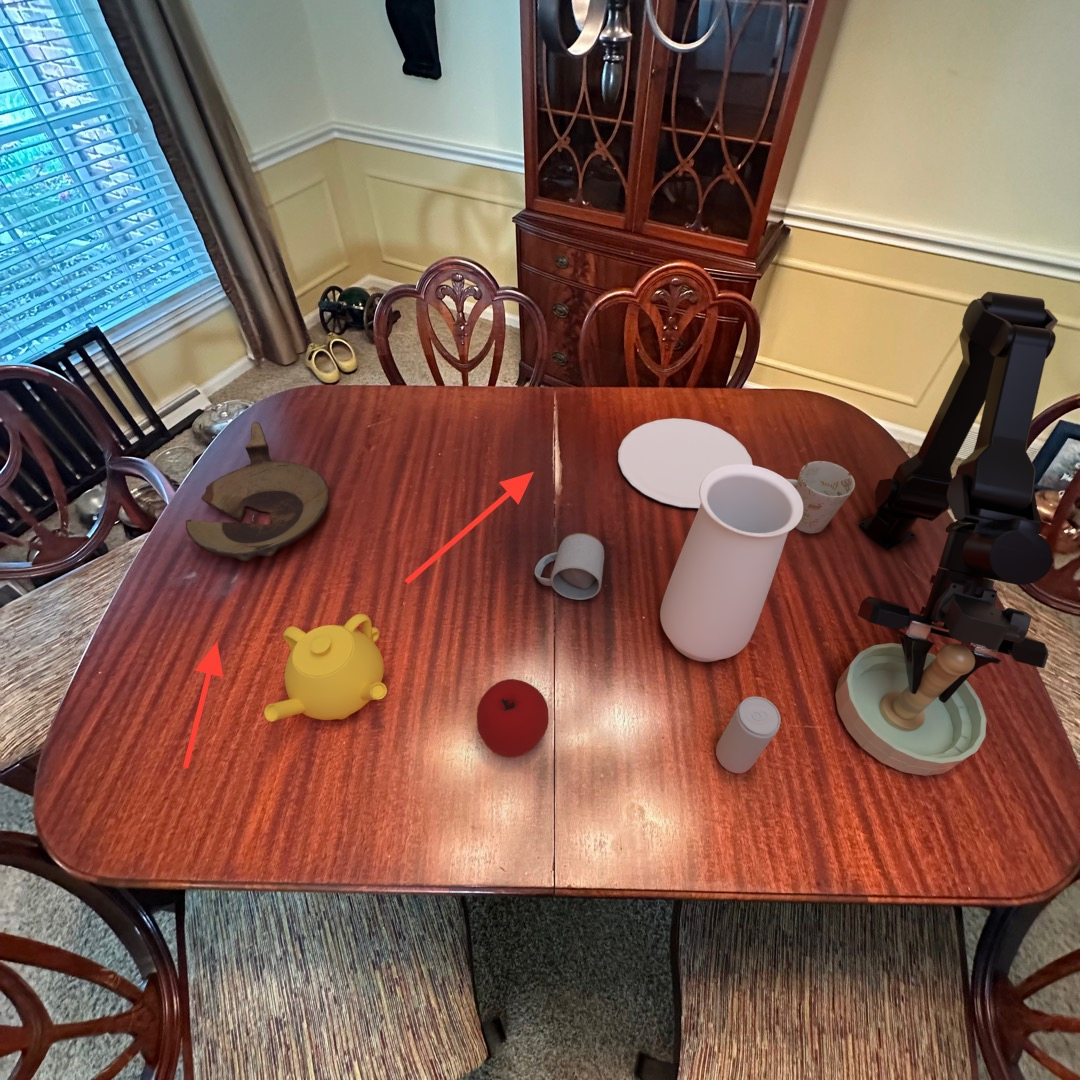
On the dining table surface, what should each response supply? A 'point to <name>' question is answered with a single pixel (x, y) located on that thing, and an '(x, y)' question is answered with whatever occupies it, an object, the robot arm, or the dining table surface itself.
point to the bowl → (923, 751)
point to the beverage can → (747, 734)
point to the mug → (821, 493)
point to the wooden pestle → (927, 688)
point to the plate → (677, 458)
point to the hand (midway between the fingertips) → (926, 697)
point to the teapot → (331, 671)
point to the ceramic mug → (575, 567)
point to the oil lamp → (261, 504)
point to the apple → (512, 717)
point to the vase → (728, 561)
